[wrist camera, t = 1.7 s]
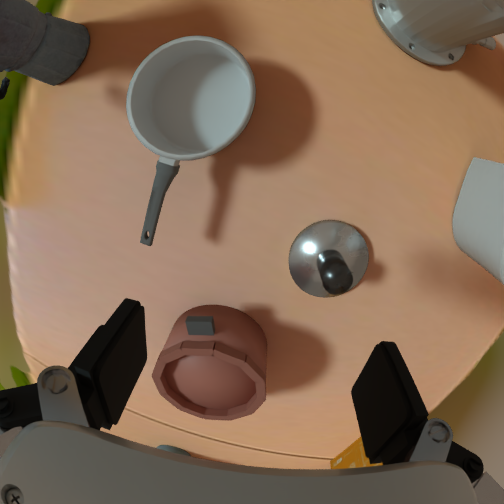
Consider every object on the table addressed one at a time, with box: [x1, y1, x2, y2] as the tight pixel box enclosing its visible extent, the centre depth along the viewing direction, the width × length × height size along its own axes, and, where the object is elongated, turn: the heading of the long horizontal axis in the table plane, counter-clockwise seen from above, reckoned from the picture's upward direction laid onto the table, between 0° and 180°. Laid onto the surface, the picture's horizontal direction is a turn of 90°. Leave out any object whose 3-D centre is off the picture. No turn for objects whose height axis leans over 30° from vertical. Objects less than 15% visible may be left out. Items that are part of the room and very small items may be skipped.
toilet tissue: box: [453, 157, 504, 285], centre depth 23 cm, size 11×12×10 cm
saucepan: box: [126, 36, 256, 246], centre depth 25 cm, size 12×20×6 cm, turn 160°
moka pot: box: [0, 0, 89, 100], centre depth 14 cm, size 10×15×20 cm, turn 170°
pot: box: [152, 305, 267, 420], centre depth 33 cm, size 13×17×8 cm
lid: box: [289, 220, 369, 297], centre depth 29 cm, size 9×9×6 cm
